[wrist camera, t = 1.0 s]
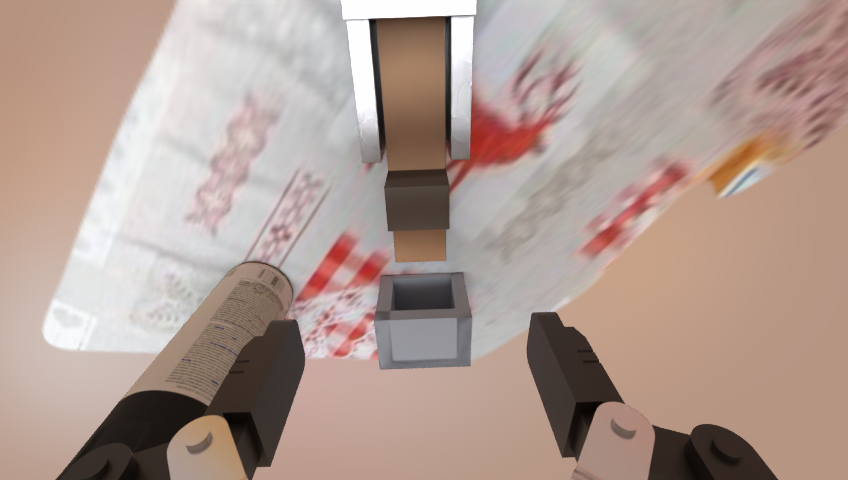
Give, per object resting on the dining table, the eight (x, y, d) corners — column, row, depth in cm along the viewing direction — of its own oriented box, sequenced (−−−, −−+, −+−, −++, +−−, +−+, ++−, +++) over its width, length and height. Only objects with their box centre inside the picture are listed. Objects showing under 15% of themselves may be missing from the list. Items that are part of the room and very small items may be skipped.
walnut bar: (377, -39, 23) (361, -74, 17) (439, -41, 23) (449, -77, 17) (398, 239, 33) (393, 288, 26) (442, 237, 33) (449, 285, 26)
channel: (355, -44, 24) (332, -79, 17) (461, -48, 24) (478, -84, 17) (373, 140, 30) (360, 167, 23) (459, 137, 30) (471, 163, 23)
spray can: (216, 261, 35) (5, 485, 17) (286, 257, 35) (149, 476, 17) (237, 316, 38) (78, 554, 20) (302, 312, 38) (200, 547, 20)
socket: (463, 272, 36) (472, 317, 30) (462, 316, 38) (470, 366, 32) (381, 275, 36) (374, 320, 30) (385, 319, 38) (380, 369, 32)
